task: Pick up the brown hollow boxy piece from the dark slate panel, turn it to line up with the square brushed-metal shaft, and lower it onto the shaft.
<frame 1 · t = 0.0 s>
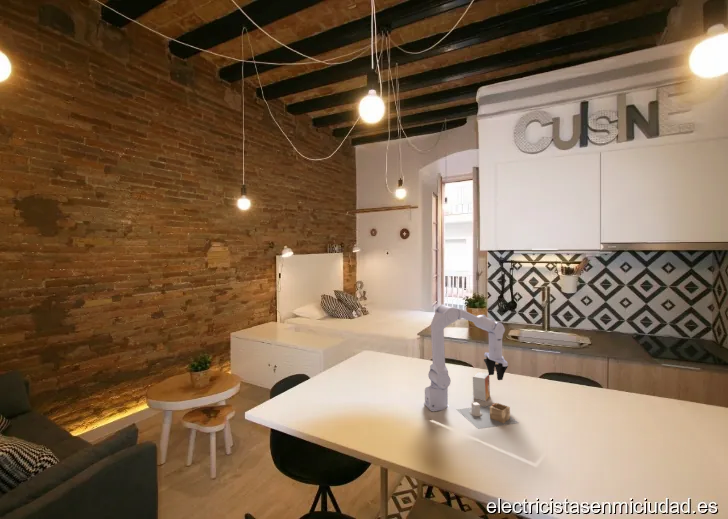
hand: (495, 377, 150), 10 cm above the table, tool pointing down, fingers open, 6 cm apart
panel: (486, 417, 134), on the table
small box: (481, 398, 152), on the table, touching gripper
brown hollow boxy piece: (499, 418, 132), point 1 cm above the table, touching panel
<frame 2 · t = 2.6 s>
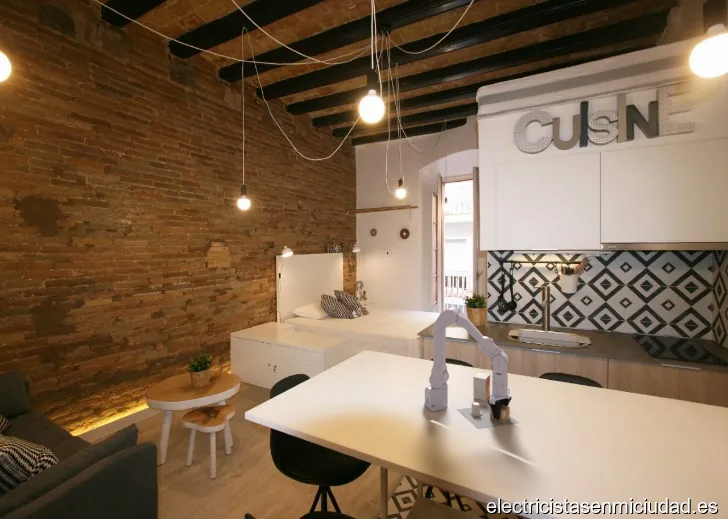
hand: (499, 416, 132), 2 cm above the table, tool pointing down, fingers closed on brown hollow boxy piece, 6 cm apart
small box: (481, 398, 152), on the table
brown hollow boxy piece: (499, 418, 132), point 1 cm above the table, touching gripper, panel
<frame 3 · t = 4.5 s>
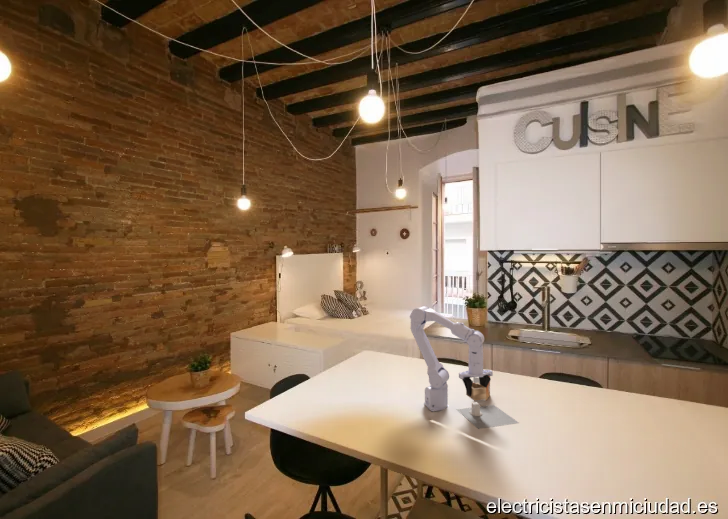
hand: (475, 394, 136), 9 cm above the table, tool pointing down, fingers closed on brown hollow boxy piece, 6 cm apart
brown hollow boxy piece: (476, 396, 136), point 8 cm above the table, touching gripper
everything else where it was.
when the fingers open (3 cm above the table, at t = 6.3 s): brown hollow boxy piece stays where it is, resting on panel.
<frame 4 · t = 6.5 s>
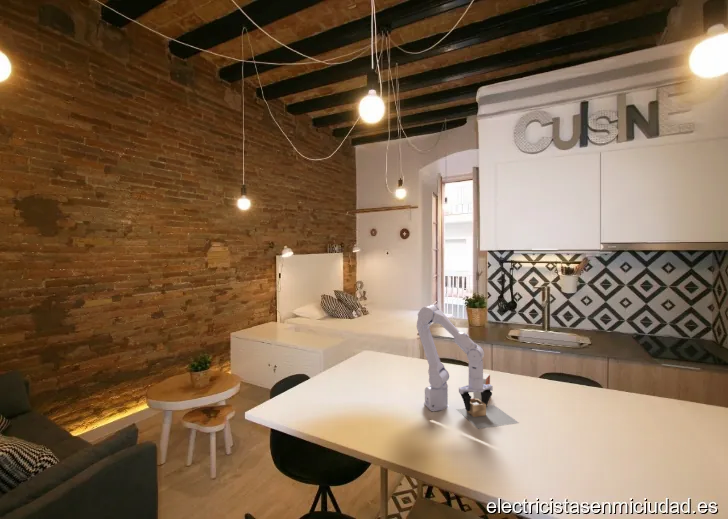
hand: (475, 408, 136), 3 cm above the table, tool pointing down, fingers open, 7 cm apart
brown hollow boxy piece: (475, 412, 136), point 1 cm above the table, touching panel
everything else where it was.
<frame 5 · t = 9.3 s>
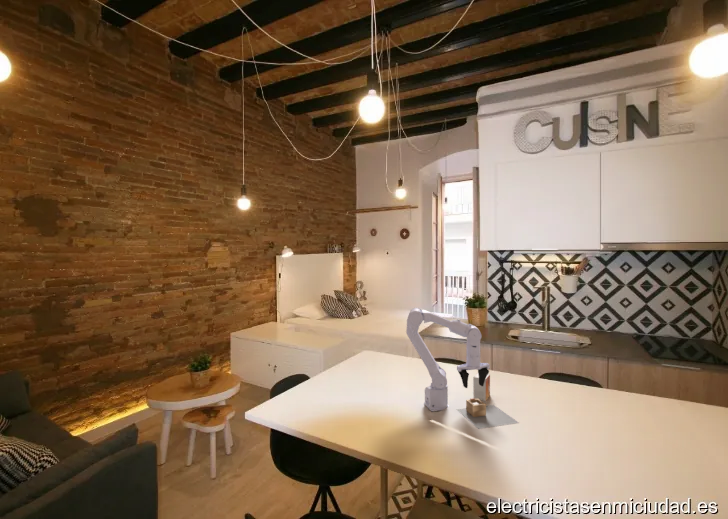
hand: (473, 386, 141), 10 cm above the table, tool pointing down, fingers open, 7 cm apart
nothing on the table moved.
at the end: brown hollow boxy piece 0.1 cm from the target spot on the panel, point 1.0 cm above the panel's base; brown hollow boxy piece tilted 0°; the gripper is holding nothing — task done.
